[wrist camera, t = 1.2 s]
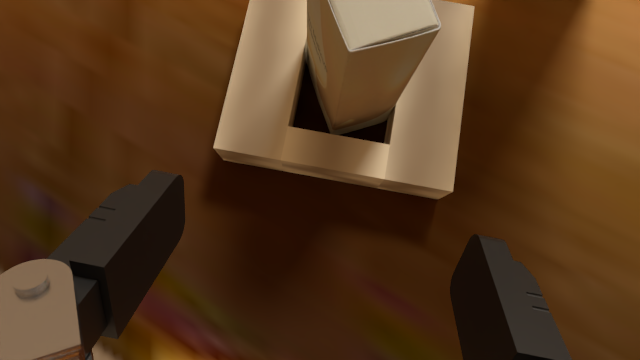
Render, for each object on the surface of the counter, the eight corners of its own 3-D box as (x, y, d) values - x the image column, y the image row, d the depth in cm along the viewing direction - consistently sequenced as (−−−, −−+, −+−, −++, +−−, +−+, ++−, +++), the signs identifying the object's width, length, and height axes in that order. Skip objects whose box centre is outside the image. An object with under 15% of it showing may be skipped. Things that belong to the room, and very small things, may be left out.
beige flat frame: (458, 31, 30) (474, 6, 27) (438, 199, 28) (453, 191, 25) (262, -4, 31) (257, -32, 28) (223, 160, 28) (213, 147, 25)
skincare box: (304, 62, 30) (299, -76, 18) (360, 46, 30) (393, -100, 18) (331, 142, 28) (347, 53, 16) (389, 125, 29) (446, 25, 17)
